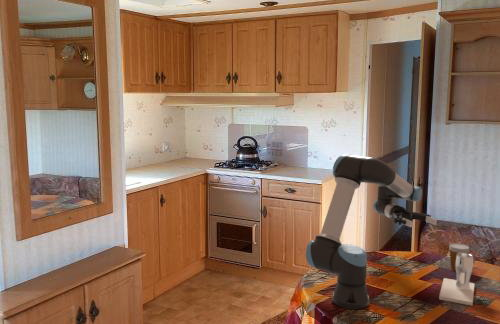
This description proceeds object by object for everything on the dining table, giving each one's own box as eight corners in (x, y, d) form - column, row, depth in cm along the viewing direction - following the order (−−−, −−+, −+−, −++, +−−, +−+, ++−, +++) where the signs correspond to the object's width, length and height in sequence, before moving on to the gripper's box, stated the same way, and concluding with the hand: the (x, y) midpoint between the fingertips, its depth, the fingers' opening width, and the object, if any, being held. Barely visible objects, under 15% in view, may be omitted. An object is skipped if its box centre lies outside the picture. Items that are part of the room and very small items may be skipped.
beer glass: (472, 291, 207) (475, 258, 204) (456, 290, 208) (458, 257, 205) (468, 284, 213) (470, 253, 211) (452, 283, 214) (454, 252, 212)
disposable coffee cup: (469, 268, 238) (471, 245, 236) (466, 274, 230) (468, 250, 228) (449, 264, 243) (450, 241, 241) (445, 270, 235) (447, 247, 233)
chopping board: (472, 305, 196) (472, 302, 196) (438, 299, 202) (439, 296, 202) (474, 286, 215) (474, 283, 215) (443, 281, 221) (443, 278, 221)
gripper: (415, 218, 242) (445, 229, 222) (373, 221, 234) (400, 233, 214) (416, 203, 241) (446, 213, 221) (374, 206, 233) (401, 217, 213)
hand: (423, 223), depth 218 cm, fingers open, 13 cm apart
